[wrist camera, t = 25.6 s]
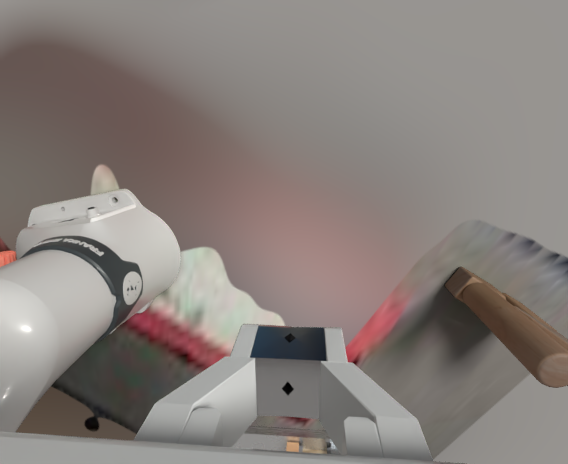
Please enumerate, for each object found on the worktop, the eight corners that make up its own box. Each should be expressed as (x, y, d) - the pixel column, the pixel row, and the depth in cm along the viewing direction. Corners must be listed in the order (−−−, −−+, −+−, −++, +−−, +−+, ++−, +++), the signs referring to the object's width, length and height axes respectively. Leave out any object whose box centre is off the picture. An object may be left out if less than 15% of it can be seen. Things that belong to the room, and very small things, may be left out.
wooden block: (504, 322, 46) (621, 433, 29) (442, 285, 45) (525, 376, 28) (522, 303, 45) (655, 406, 28) (460, 264, 44) (557, 346, 27)
